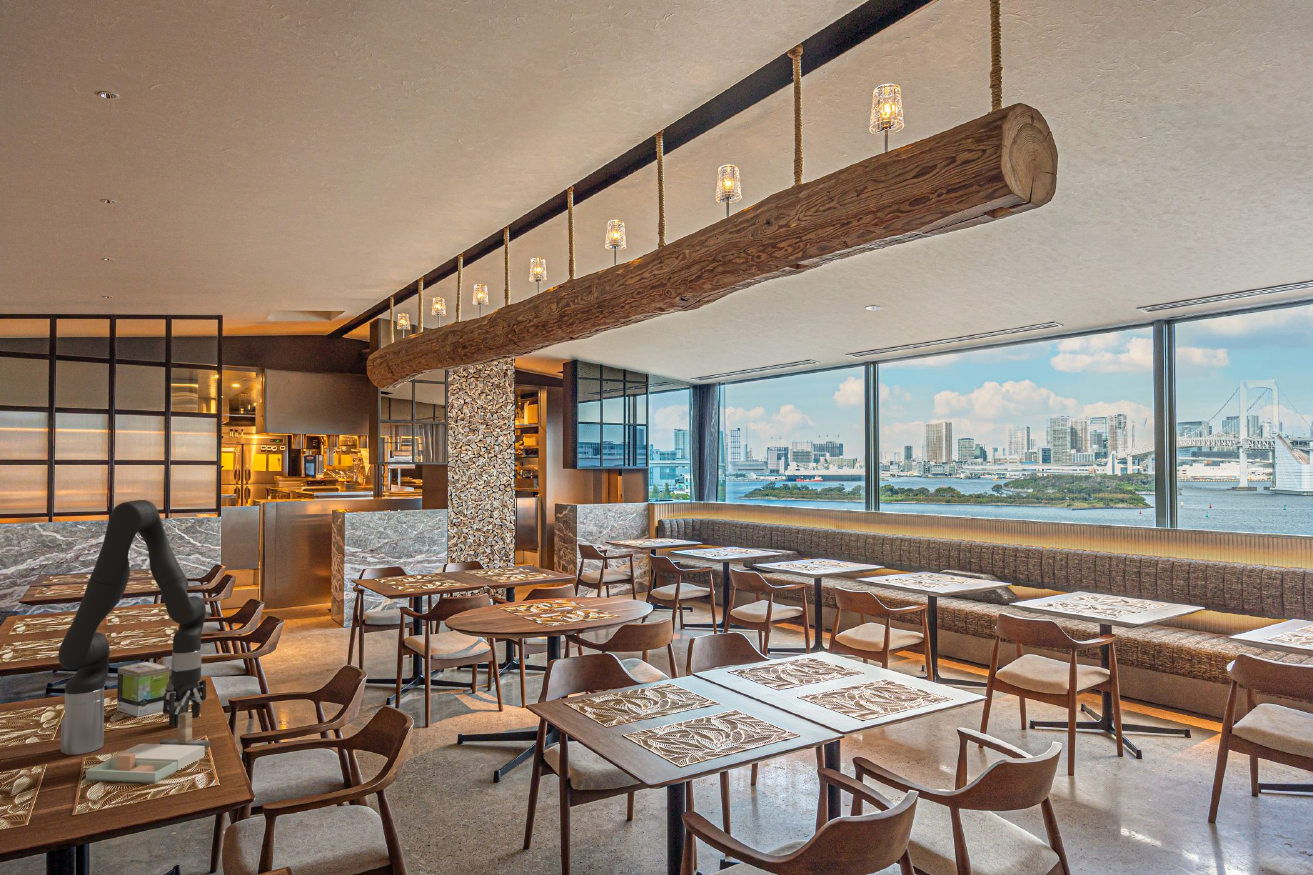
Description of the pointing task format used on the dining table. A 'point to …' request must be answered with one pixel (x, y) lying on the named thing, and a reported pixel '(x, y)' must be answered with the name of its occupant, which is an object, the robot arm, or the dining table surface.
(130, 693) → the tea box
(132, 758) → the tile
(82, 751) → the robot arm
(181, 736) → the scraper
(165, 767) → the tray
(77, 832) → the dining table surface
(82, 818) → the dining table surface
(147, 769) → the tile
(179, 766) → the stone plate
